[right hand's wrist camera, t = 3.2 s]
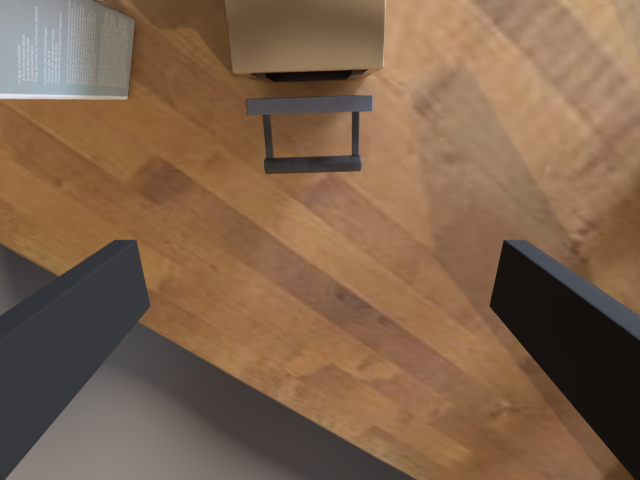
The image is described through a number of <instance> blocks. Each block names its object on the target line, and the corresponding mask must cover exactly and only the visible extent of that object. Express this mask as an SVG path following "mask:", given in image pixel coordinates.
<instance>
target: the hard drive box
mask: <svg viewBox="0 0 640 480" xmlns="http://www.w3.org/2000/svg"><path fill="white" fill-rule="evenodd" d="M134 25H135V20H134V19H133V18H132V17H130V16H128V15H126V14H124V13H122V12H120V11H118V10H116V9H113V8H111V7H109V6H107V5H105V4H102V3H100V2H98V1H96V0H0V99H91V100H126V99H127V98H128V91H129V80H130V70H131V60H132V50H133V39H134Z"/></svg>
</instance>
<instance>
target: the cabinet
mask: <svg viewBox="0 0 640 480" xmlns="http://www.w3.org/2000/svg"><path fill="white" fill-rule="evenodd" d="M224 3H225V11H226V20H227V29H228V38H229V47H230V55H231V64H232V72H233V73H235V74H238V75H241V76H244V77H247V78H250V79H252V80H259V79H257V78H256V77H255V73H275V72H304V71H333V70H362V74H361V75H360V76H358V77H364V76H370V75H371V74H373V73H375V72H376V71H378V70H380V69H381V68H383V67H384V38H385V9H386V0H224Z"/></svg>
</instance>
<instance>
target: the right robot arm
mask: <svg viewBox="0 0 640 480" xmlns="http://www.w3.org/2000/svg"><path fill="white" fill-rule="evenodd" d="M149 307H150V302H149V297H148V293H147V288H146V283H145V279H144V274H143V269H142V265H141V260H140V255H139V251H138V246H137V241H136V240H114V241H112V242H111V243H109V244H108V245H106V246H105V247H103V248H102V249H100V250H99V251H97V252H96V253H94V254H93V255H91V256H90V257H88V258H87V259H85V260H84V261H82V262H81V263H79V264H78V265H76V266H75V267H73V268H72V269H70V270H69V271H67V272H66V273H64V274H63V275H61V276H60V277H58V278H57V279H55V280H54V281H52V282H51V283H49V284H48V285H46V286H45V287H43V288H42V289H40V290H39V291H37V292H36V293H34V294H33V295H31V296H30V297H28V298H27V299H25V300H24V301H22V302H20V303H19V304H17V305H16V306H14V307H13V308H11V309H10V310H8V311H7V312H5V313H4V314H2V315H1V316H0V480H5V479H6V478H7V477H8V475H9V474H10V473H11V472H12V471H13V469H14V468H15V467H16V466H17V465H18V463H19V462H20V461H21V460H22V459H23V458H24V456H25V455H26V454H27V453H28V452H29V450H30V449H31V448H32V447H33V446H34V444H35V443H36V442H37V441H38V440H39V438H40V437H41V436H42V435H43V434H44V432H45V431H46V430H47V429H48V428H49V426H50V425H51V424H52V423H53V422H54V421H55V419H56V418H57V417H58V416H59V415H60V413H61V412H62V411H63V410H64V409H65V407H66V406H67V405H68V404H69V403H70V401H71V400H72V399H73V398H74V397H75V395H76V394H77V393H78V392H79V391H80V389H81V388H82V387H83V386H84V385H85V384H86V382H87V381H88V380H89V379H90V378H91V376H92V375H93V374H94V373H95V372H96V370H97V369H98V368H99V367H100V366H101V364H102V363H103V362H104V361H105V360H106V359H107V357H108V356H109V355H110V354H111V353H112V351H113V350H114V349H115V348H116V347H117V345H118V344H119V343H120V342H121V341H122V339H123V338H124V337H125V336H126V335H127V333H128V332H129V331H130V330H131V329H132V328H133V326H134V325H135V324H136V323H137V322H138V320H139V319H140V318H141V317H142V316H143V314H144V313H145V312H146V311H147V310H148V308H149ZM490 307H491V308H492V310H493V311H494V312H495V313H496V314H497V316H498V317H499V318H500V319H501V320H502V322H503V323H504V324H505V325H506V326H507V328H508V329H509V330H510V331H511V332H512V334H513V335H514V336H515V337H516V338H517V339H518V341H519V342H520V343H521V344H522V345H523V347H524V348H525V349H526V350H527V351H528V353H529V354H530V355H531V356H532V357H533V359H534V360H535V361H536V362H537V363H538V365H539V366H540V367H541V368H542V369H543V370H544V372H545V373H546V374H547V375H548V376H549V378H550V379H551V380H552V381H553V382H554V384H555V385H556V386H557V387H558V388H559V390H560V391H561V392H562V393H563V394H564V396H565V397H566V398H567V399H568V400H569V401H570V403H571V404H572V405H573V406H574V407H575V409H576V410H577V411H578V412H579V413H580V415H581V416H582V417H583V418H584V419H585V421H586V422H587V423H588V424H589V425H590V427H591V428H592V429H593V430H594V431H595V432H596V434H597V435H598V436H599V437H600V438H601V440H602V441H603V442H604V443H605V444H606V446H607V447H608V448H609V449H610V450H611V452H612V453H613V454H614V455H615V456H616V458H617V459H618V460H619V461H620V462H621V464H622V465H623V466H624V467H625V468H626V469H627V471H628V472H629V473H630V474H631V475H632V477H633V478H634V479H635V480H640V315H639V314H637V313H635V312H633V311H632V310H630V309H629V308H627V307H626V306H624V305H623V304H621V303H620V302H618V301H617V300H615V299H613V298H612V297H610V296H609V295H607V294H606V293H604V292H603V291H601V290H600V289H598V288H597V287H595V286H594V285H592V284H591V283H589V282H588V281H586V280H585V279H583V278H582V277H580V276H579V275H577V274H576V273H574V272H573V271H571V270H570V269H568V268H567V267H565V266H564V265H562V264H561V263H559V262H558V261H556V260H555V259H553V258H552V257H550V256H549V255H547V254H546V253H544V252H543V251H541V250H540V249H538V248H537V247H535V246H534V245H532V244H531V243H529V242H528V241H526V240H504V241H503V246H502V251H501V255H500V260H499V265H498V269H497V274H496V279H495V283H494V288H493V293H492V297H491V302H490Z"/></svg>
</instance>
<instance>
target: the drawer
mask: <svg viewBox="0 0 640 480" xmlns="http://www.w3.org/2000/svg"><path fill="white" fill-rule="evenodd" d="M361 74H362V70H333V71H304V72H275V73H255V77H256V78H257V79H259V80H262V81H265V82H267V83H273V82H302V81H332V80H355V79H356V78H357V77H358V76H360V75H361ZM246 105H247V114H248V115H263V124H264V135H265V147H266V158H265V160H264V168H265V173H266V174H284V173H317V172H349V171H360V170H361V156H360V155H359V111H372V110H373V95H351V96H321V97H291V98H262V99H246ZM328 112H352V155H349V156H317V157H285V158H273V157H274V155H273V143H272V130H271V118H270V114H298V113H328Z"/></svg>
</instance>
